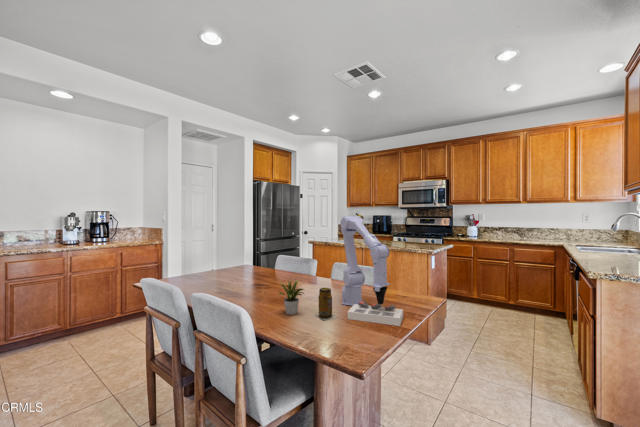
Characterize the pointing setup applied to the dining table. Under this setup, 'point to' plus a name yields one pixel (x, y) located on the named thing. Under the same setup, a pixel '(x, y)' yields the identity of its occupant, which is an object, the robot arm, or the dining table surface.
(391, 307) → the rocker right
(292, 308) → the house plant
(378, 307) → the rocker middle
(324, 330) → the dining table surface
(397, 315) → the power strip
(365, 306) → the rocker left
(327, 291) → the condiment
